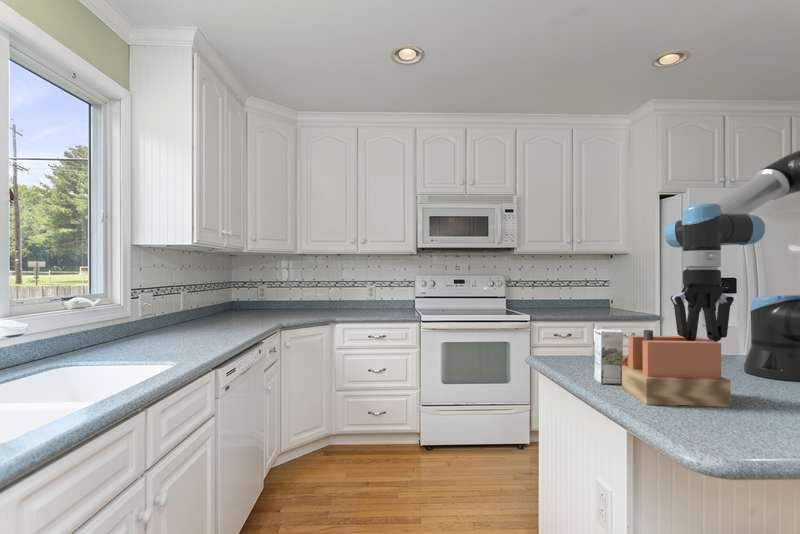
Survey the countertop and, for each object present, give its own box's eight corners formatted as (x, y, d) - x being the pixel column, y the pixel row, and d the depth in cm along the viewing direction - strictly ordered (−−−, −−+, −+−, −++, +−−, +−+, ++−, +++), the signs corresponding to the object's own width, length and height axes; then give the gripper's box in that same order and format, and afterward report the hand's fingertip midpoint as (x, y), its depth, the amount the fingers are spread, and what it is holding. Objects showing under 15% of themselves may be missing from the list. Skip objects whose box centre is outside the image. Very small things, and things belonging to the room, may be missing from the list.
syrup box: (614, 379, 119) (614, 327, 119) (623, 385, 113) (623, 330, 113) (593, 378, 120) (593, 327, 120) (601, 384, 114) (600, 330, 114)
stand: (695, 390, 108) (695, 327, 108) (730, 406, 95) (730, 335, 95) (621, 388, 110) (621, 326, 110) (646, 404, 97) (646, 334, 97)
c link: (694, 368, 107) (694, 336, 107) (721, 378, 97) (721, 343, 97) (628, 366, 108) (628, 335, 108) (647, 376, 98) (647, 342, 98)
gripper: (676, 268, 99) (676, 369, 99) (747, 268, 98) (748, 371, 98) (659, 268, 107) (659, 362, 106) (725, 268, 105) (725, 363, 105)
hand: (701, 366), depth 102 cm, fingers closed on c link, 2 cm apart
